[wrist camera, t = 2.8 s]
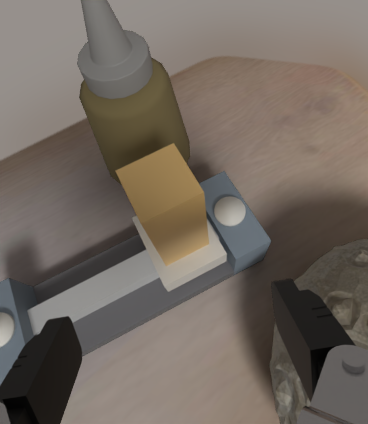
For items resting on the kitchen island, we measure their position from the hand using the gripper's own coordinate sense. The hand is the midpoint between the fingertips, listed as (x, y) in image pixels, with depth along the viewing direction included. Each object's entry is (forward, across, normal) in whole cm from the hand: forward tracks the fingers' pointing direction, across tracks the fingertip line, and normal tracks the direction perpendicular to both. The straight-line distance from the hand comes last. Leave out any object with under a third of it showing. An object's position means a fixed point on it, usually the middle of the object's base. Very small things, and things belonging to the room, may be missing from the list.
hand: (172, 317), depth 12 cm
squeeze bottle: (+22, +2, -1) cm, 22 cm away
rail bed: (+14, +5, +7) cm, 16 cm away
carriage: (+14, 0, +4) cm, 15 cm away
